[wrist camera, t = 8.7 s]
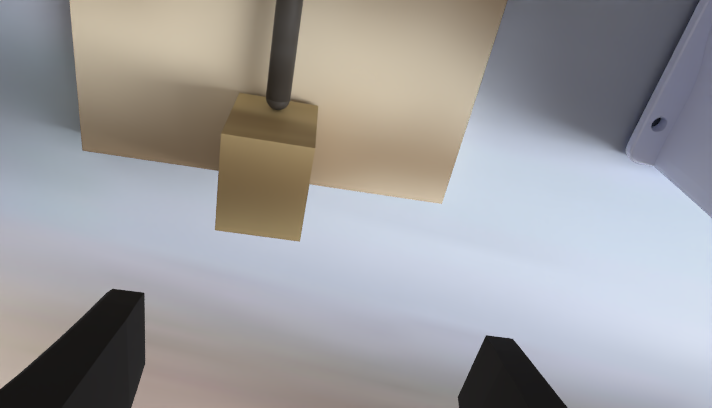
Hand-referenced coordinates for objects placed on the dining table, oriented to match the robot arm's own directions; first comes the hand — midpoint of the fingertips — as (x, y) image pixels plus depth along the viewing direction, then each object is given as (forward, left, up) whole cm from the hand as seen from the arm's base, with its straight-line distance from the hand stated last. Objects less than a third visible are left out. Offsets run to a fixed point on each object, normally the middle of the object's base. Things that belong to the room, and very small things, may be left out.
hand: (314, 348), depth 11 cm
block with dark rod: (+7, +2, -7) cm, 11 cm away
